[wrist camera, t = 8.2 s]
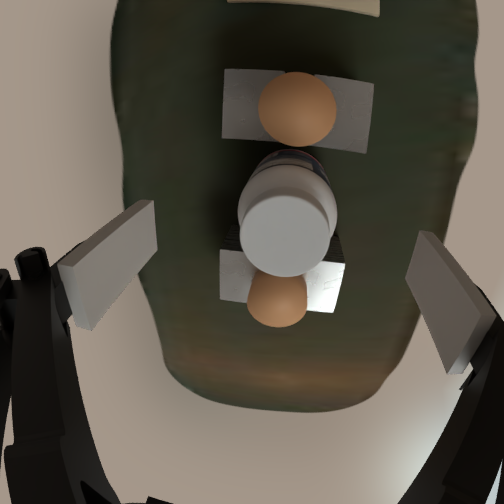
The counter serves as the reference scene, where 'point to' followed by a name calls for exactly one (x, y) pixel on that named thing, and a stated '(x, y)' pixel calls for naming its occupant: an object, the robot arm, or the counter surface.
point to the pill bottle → (287, 214)
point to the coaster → (329, 4)
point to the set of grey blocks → (250, 128)
